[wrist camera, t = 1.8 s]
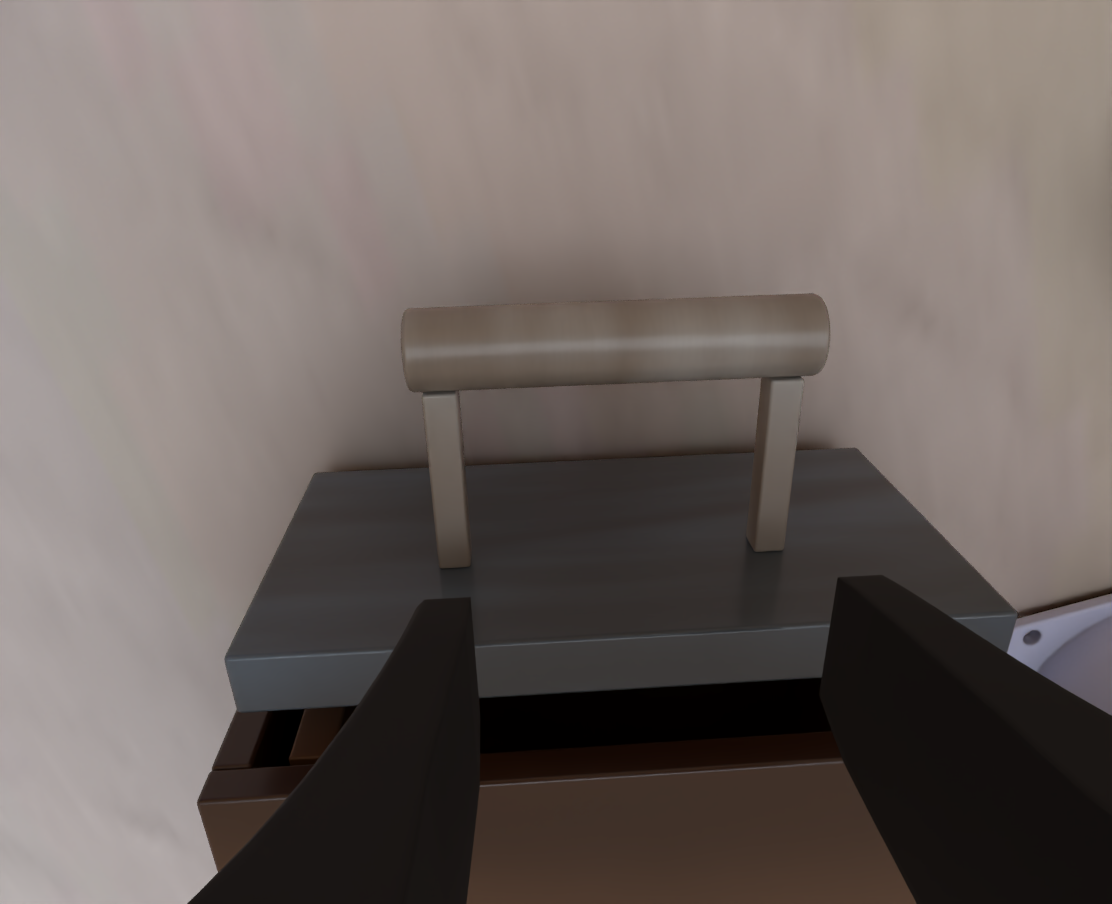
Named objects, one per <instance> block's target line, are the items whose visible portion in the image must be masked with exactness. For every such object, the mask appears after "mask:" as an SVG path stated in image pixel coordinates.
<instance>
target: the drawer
mask: <svg viewBox="0 0 1112 904" xmlns="http://www.w3.org/2000/svg"><path fill="white" fill-rule="evenodd" d="M829 345H830V321H829V315H828V311H827V307H826V305H825V303H824V301H823V299H822V298H821V297H820V296H818V295H816V294H785V295H758V296H731V297H704V298H677V299H650V300H623V301H595V302H568V303H541V304H514V305H487V306H460V307H432V308H409V309H406V310H405V311H404V313H403V316H402V323H401V350H402V362H403V370H404V376H405V380H406V384H407V386H408V388H409V390H410V391H412V392H423V395H422V405H423V415H424V424H425V434H426V444H427V454H428V464H429V468H409V469H387V470H366V471H344V472H322V473H315V474H314V475H313V477H312V479H311V481H310V483H309V485H308V487H307V490H306V492H305V494H304V496H303V498H302V500H301V502H300V504H299V506H298V508H297V510H296V512H295V514H294V516H293V518H292V520H291V522H290V524H289V526H288V528H287V530H286V533H285V535H284V537H283V539H282V541H281V543H280V545H279V547H278V549H277V551H276V553H275V555H274V557H273V559H272V561H271V563H270V565H269V567H268V569H267V571H266V573H265V575H264V578H263V580H262V582H261V584H260V586H259V588H258V590H257V592H256V594H255V596H254V598H253V600H252V602H251V604H250V606H249V608H248V610H247V612H246V614H245V616H244V618H243V621H242V623H241V625H240V627H239V629H238V631H237V633H236V635H235V637H234V639H233V641H232V643H231V645H230V647H229V649H228V651H227V653H226V655H225V658H224V660H225V665H226V669H227V673H228V676H229V680H230V684H231V688H232V692H233V696H234V700H235V704H236V707H237V711H238V712H240V713H247V712H264V711H280V710H297V709H305V710H304V713H303V716H302V719H301V722H300V725H299V728H298V731H297V735H296V738H295V741H294V744H293V747H292V750H291V753H290V757H289V762H290V766H293V765H308V764H315V763H316V761H317V760H318V759H319V757H320V756H321V755H322V753H323V752H324V751H325V749H326V748H327V747H328V745H329V744H330V743H331V741H332V740H333V739H334V737H335V736H336V735H337V733H338V732H339V731H340V729H341V728H342V727H343V725H344V724H345V723H346V721H347V720H348V719H349V717H350V716H351V714H352V713H353V712H354V710H355V709H356V707H357V706H358V704H359V703H360V701H361V700H362V698H363V697H364V695H365V694H366V692H367V691H368V689H369V688H370V686H371V685H372V683H373V682H374V680H375V679H376V677H377V675H378V674H379V672H380V671H381V669H382V668H383V666H384V665H385V663H386V661H387V660H388V658H389V656H390V655H391V653H392V651H393V650H394V648H395V646H396V645H397V643H398V641H399V639H400V638H401V636H402V634H403V632H404V631H405V629H406V627H407V625H408V623H409V621H410V619H411V617H412V615H413V613H414V611H415V609H416V607H417V606H418V605H419V604H420V603H421V602H422V601H423V600H426V599H444V598H462V597H471V609H472V621H473V633H474V645H475V657H476V669H477V681H478V693H479V706H480V754H481V753H497V752H512V751H528V750H544V749H559V748H575V747H591V746H606V745H622V744H638V743H653V742H669V741H685V740H700V739H716V738H732V737H748V736H763V735H779V734H795V733H810V732H826V731H832V730H831V727H830V725H829V722H828V719H827V716H826V713H825V710H824V707H823V705H822V702H821V699H820V696H819V691H820V685H821V679H822V672H823V666H824V660H825V654H826V647H827V641H828V635H829V628H830V622H831V616H832V610H833V603H834V597H835V591H836V584H837V578H838V577H849V576H867V575H883V576H885V577H887V578H889V579H891V580H892V581H894V582H896V583H898V584H899V585H901V586H903V587H904V588H906V589H907V590H909V591H911V592H912V593H914V594H916V595H917V596H919V597H920V598H922V599H923V600H925V601H926V602H928V603H930V604H931V605H933V606H934V607H936V608H937V609H939V610H940V611H942V612H944V613H945V614H947V615H948V616H950V617H951V618H953V619H954V620H956V621H957V622H959V623H961V624H962V625H964V626H965V627H967V628H968V629H970V630H971V631H973V632H974V633H976V634H978V635H979V636H981V637H982V638H984V639H985V640H987V641H988V642H990V643H992V644H993V645H995V646H996V647H998V648H999V649H1001V650H1003V651H1004V652H1006V653H1007V652H1008V648H1009V645H1010V641H1011V638H1012V634H1013V631H1014V627H1015V624H1016V620H1017V617H1018V615H1017V611H1016V610H1015V609H1014V608H1013V607H1012V606H1011V605H1010V604H1009V603H1008V602H1007V601H1006V600H1005V599H1004V598H1003V597H1002V596H1001V595H1000V594H999V593H998V592H997V591H996V590H995V589H994V588H993V587H992V586H991V585H990V584H989V583H988V582H987V581H986V580H985V579H984V577H983V576H982V575H981V574H980V573H979V572H978V571H977V570H976V569H975V568H974V567H973V566H972V565H971V564H970V563H969V562H968V561H967V560H966V559H965V558H964V557H963V556H962V555H961V554H960V553H959V552H958V551H957V550H956V549H955V548H954V547H953V546H952V545H951V544H950V543H949V542H948V541H947V540H946V539H945V538H944V537H943V536H942V535H941V534H940V533H939V532H938V531H937V530H936V529H935V528H934V527H933V526H932V525H931V523H930V522H929V521H928V520H927V519H926V518H925V517H924V516H923V515H922V514H921V513H920V512H919V511H918V510H917V509H916V508H915V507H914V506H913V505H912V504H911V503H910V502H909V501H908V500H907V499H906V498H905V497H904V496H903V495H902V494H901V493H900V492H899V491H898V490H897V489H896V488H895V487H894V486H893V485H892V484H891V483H890V482H889V481H888V480H887V479H886V478H885V477H884V476H883V475H882V474H881V473H880V472H879V470H878V469H877V468H876V467H875V466H874V465H873V464H872V463H871V462H870V461H869V460H868V459H867V458H866V457H865V456H864V455H863V454H862V453H861V452H860V451H859V450H858V449H856V448H839V449H818V450H796V445H797V437H798V429H799V420H800V412H801V404H802V396H803V388H804V379H803V378H802V377H801V376H813V375H815V374H818V373H819V372H820V371H821V370H822V368H823V367H824V365H825V362H826V360H827V356H828V352H829ZM745 378H761V388H760V398H759V409H758V419H757V429H756V440H755V450H754V452H753V453H732V454H710V455H689V456H667V457H646V458H624V459H602V460H581V461H559V462H538V463H516V464H495V465H473V466H465V459H464V446H463V433H462V421H461V408H460V396H459V390H482V389H506V388H530V387H554V386H578V385H602V384H626V383H649V382H673V381H697V380H721V379H745Z"/></svg>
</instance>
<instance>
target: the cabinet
mask: <svg viewBox="0 0 1112 904" xmlns="http://www.w3.org/2000/svg"><path fill="white" fill-rule="evenodd" d="M304 710H305V709H297V710H280V711H264V712H247V713H240V712H238V711H237V710H236V713H235V715H234V717H233V720H232V722H231V724H230V727H229V729H228V731H227V734H226V736H225V738H224V741H223V743H222V745H221V748H220V750H219V752H218V755H217V757H216V759H215V762H214V764H213V767H212V771H211V772H210V773H209V775H208V778H207V780H206V782H205V785H204V787H203V789H202V792H201V794H200V796H199V799H198V802H197V805H198V809H199V812H200V815H201V818H202V822H203V825H204V828H205V831H206V835H207V838H208V841H209V844H210V848H211V851H212V854H213V857H214V861H215V864H216V867H217V870H218V872H219V871H220V870H221V869H222V868H223V867H224V866H225V865H226V864H227V863H228V862H229V861H230V860H231V859H232V858H233V857H234V856H235V855H236V854H237V853H238V852H239V851H240V850H241V849H242V848H243V847H244V845H245V844H246V843H247V842H248V841H249V840H250V839H251V838H252V837H253V836H254V835H255V834H256V832H257V831H258V830H259V829H260V828H261V827H262V826H263V825H264V823H265V822H266V821H267V820H268V819H269V818H270V817H271V816H272V814H273V813H274V812H275V811H276V810H277V809H278V808H279V807H280V805H281V804H282V803H283V802H284V801H285V800H286V798H287V797H288V796H289V795H290V794H291V792H292V791H293V790H294V789H295V788H296V786H297V785H298V784H299V783H300V782H301V780H302V779H303V778H304V777H305V775H306V774H307V773H308V772H309V770H310V769H311V768H312V767H313V765H314V764H308V765H293V766H290V762H289V757H290V753H291V750H292V747H293V744H294V741H295V738H296V735H297V731H298V728H299V725H300V722H301V719H302V716H303V713H304ZM466 904H917V903H916V901H915V899H914V898H913V896H912V894H911V892H910V890H909V888H908V886H907V884H906V882H905V880H904V878H903V877H902V875H901V873H900V871H899V869H898V867H897V865H896V863H895V861H894V859H893V857H892V856H891V854H890V852H889V850H888V848H887V846H886V844H885V842H884V840H883V838H882V836H881V835H880V833H879V831H878V829H877V827H876V825H875V823H874V821H873V819H872V817H871V815H870V813H869V811H868V810H867V808H866V806H865V804H864V802H863V800H862V798H861V796H860V794H859V792H858V790H857V788H856V786H855V784H854V782H853V780H852V778H851V776H850V774H849V772H848V770H847V768H846V766H845V764H844V762H843V759H842V757H841V754H840V751H839V749H838V746H837V744H836V741H835V738H834V736H833V733H832V731H826V732H810V733H795V734H779V735H763V736H748V737H732V738H716V739H700V740H685V741H669V742H653V743H638V744H622V745H606V746H591V747H575V748H559V749H544V750H528V751H512V752H497V753H481V754H480V789H479V798H478V807H477V816H476V825H475V834H474V843H473V852H472V860H471V869H470V877H469V886H468V895H467V903H466Z"/></svg>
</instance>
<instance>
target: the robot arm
mask: <svg viewBox="0 0 1112 904" xmlns="http://www.w3.org/2000/svg"><path fill="white" fill-rule="evenodd" d="M1030 631H1031V632H1030ZM1027 632H1030V633H1029V634H1027V635H1025V634H1026V633H1027ZM819 696H820V699H821V702H822V705H823V707H824V710H825V713H826V716H827V719H828V722H829V725H830V727H831V730H832V733H833V736H834V738H835V741H836V744H837V746H838V749H839V751H840V754H841V757H842V759H843V762H844V764H845V766H846V768H847V770H848V772H849V774H850V776H851V778H852V780H853V782H854V784H855V786H856V788H857V790H858V792H859V794H860V796H861V798H862V800H863V802H864V804H865V806H866V808H867V810H868V811H869V813H870V815H871V817H872V819H873V821H874V823H875V825H876V827H877V829H878V831H879V833H880V835H881V836H882V838H883V840H884V842H885V844H886V846H887V848H888V850H889V852H890V854H891V856H892V857H893V859H894V861H895V863H896V865H897V867H898V869H899V871H900V873H901V875H902V877H903V878H904V880H905V882H906V884H907V886H908V888H909V890H910V892H911V894H912V896H913V898H914V899H915V901H916V903H917V904H1112V594H1108V595H1104V596H1101V597H1097V598H1093V599H1089V600H1085V601H1082V602H1078V603H1074V604H1070V605H1067V606H1063V607H1059V608H1055V609H1052V610H1048V611H1044V612H1040V613H1036V614H1033V615H1029V616H1025V617H1021V618H1018V619H1017V620H1016V624H1015V627H1014V631H1013V634H1012V638H1011V641H1010V645H1009V648H1008V652H1007V653H1006V652H1004V651H1003V650H1001V649H999V648H998V647H996V646H995V645H993V644H992V643H990V642H988V641H987V640H985V639H984V638H982V637H981V636H979V635H978V634H976V633H974V632H973V631H971V630H970V629H968V628H967V627H965V626H964V625H962V624H961V623H959V622H957V621H956V620H954V619H953V618H951V617H950V616H948V615H947V614H945V613H944V612H942V611H940V610H939V609H937V608H936V607H934V606H933V605H931V604H930V603H928V602H926V601H925V600H923V599H922V598H920V597H919V596H917V595H916V594H914V593H912V592H911V591H909V590H907V589H906V588H904V587H903V586H901V585H899V584H898V583H896V582H894V581H892V580H891V579H889V578H887V577H885V576H883V575H867V576H849V577H838V578H837V584H836V591H835V597H834V603H833V610H832V616H831V622H830V628H829V635H828V641H827V647H826V654H825V660H824V666H823V672H822V679H821V685H820V691H819ZM479 789H480V706H479V693H478V681H477V669H476V657H475V645H474V633H473V621H472V609H471V597H462V598H444V599H426V600H423V601H422V602H421V603H420V604H419V605H418V606H417V607H416V609H415V611H414V613H413V615H412V617H411V619H410V621H409V623H408V625H407V627H406V629H405V631H404V632H403V634H402V636H401V638H400V639H399V641H398V643H397V645H396V646H395V648H394V650H393V651H392V653H391V655H390V656H389V658H388V660H387V661H386V663H385V665H384V666H383V668H382V669H381V671H380V672H379V674H378V675H377V677H376V679H375V680H374V682H373V683H372V685H371V686H370V688H369V689H368V691H367V692H366V694H365V695H364V697H363V698H362V700H361V701H360V703H359V704H358V706H357V707H356V709H355V710H354V712H353V713H352V714H351V716H350V717H349V719H348V720H347V721H346V723H345V724H344V725H343V727H342V728H341V729H340V731H339V732H338V733H337V735H336V736H335V737H334V739H333V740H332V741H331V743H330V744H329V745H328V747H327V748H326V749H325V751H324V752H323V753H322V755H321V756H320V757H319V759H318V760H317V761H316V763H315V764H314V765H313V767H312V768H311V769H310V770H309V772H308V773H307V774H306V775H305V777H304V778H303V779H302V780H301V782H300V783H299V784H298V785H297V786H296V788H295V789H294V790H293V791H292V792H291V794H290V795H289V796H288V797H287V798H286V800H285V801H284V802H283V803H282V804H281V805H280V807H279V808H278V809H277V810H276V811H275V812H274V813H273V814H272V816H271V817H270V818H269V819H268V820H267V821H266V822H265V823H264V825H263V826H262V827H261V828H260V829H259V830H258V831H257V832H256V834H255V835H254V836H253V837H252V838H251V839H250V840H249V841H248V842H247V843H246V844H245V845H244V847H243V848H242V849H241V850H240V851H239V852H238V853H237V854H236V855H235V856H234V857H233V858H232V859H231V860H230V861H229V862H228V863H227V864H226V865H225V866H224V867H223V868H222V869H221V870H220V871H219V872H218V873H217V874H216V875H215V876H214V877H213V878H212V879H211V880H210V882H209V883H208V884H207V885H206V886H205V887H204V888H203V889H202V890H201V891H200V892H199V893H198V894H197V895H196V896H195V897H194V898H193V899H192V900H191V901H190V902H188V903H187V904H466V903H467V895H468V886H469V877H470V869H471V860H472V852H473V843H474V834H475V825H476V816H477V807H478V798H479Z"/></svg>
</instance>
